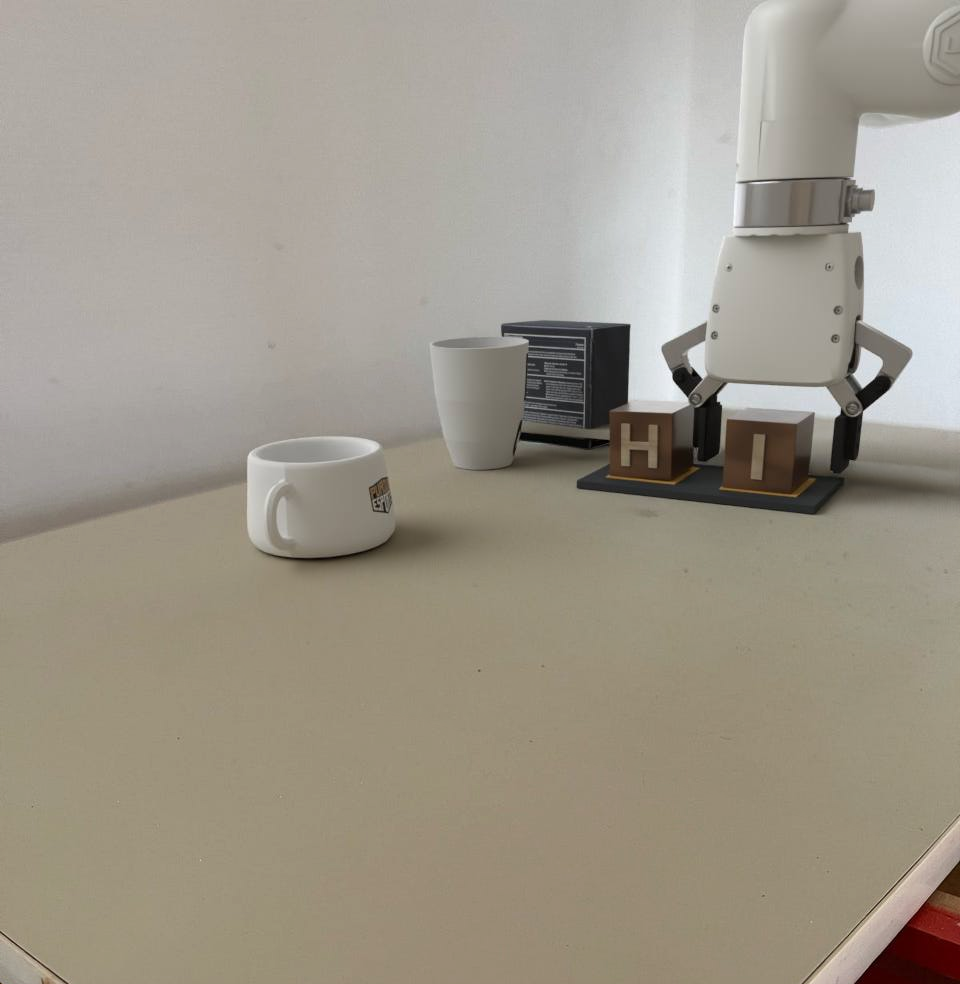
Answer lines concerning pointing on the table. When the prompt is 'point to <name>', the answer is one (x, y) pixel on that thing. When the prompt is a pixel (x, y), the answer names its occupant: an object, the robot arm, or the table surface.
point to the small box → (573, 375)
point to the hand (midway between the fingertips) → (772, 463)
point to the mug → (318, 497)
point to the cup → (480, 398)
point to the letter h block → (651, 439)
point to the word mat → (717, 489)
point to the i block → (768, 450)
